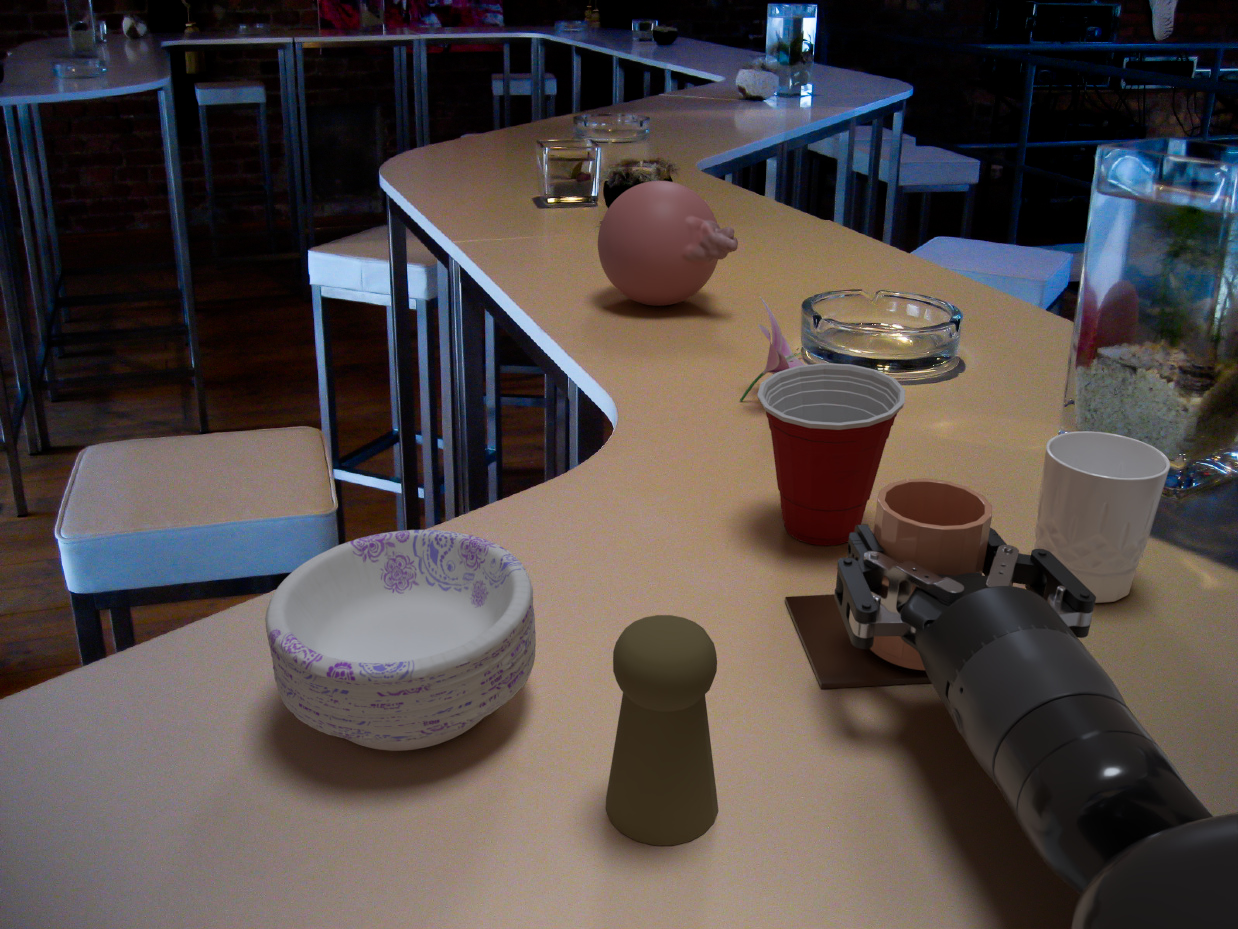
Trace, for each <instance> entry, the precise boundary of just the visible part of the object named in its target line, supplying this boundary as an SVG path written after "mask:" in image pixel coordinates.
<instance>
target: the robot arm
mask: <svg viewBox="0 0 1238 929" xmlns="http://www.w3.org/2000/svg"><path fill="white" fill-rule="evenodd" d="M846 551H847V552H846V557H840V558H838V560H837V562H836V564H837V565H836V570H837V571H836V582H835V588H834V593H833V594H834V598H835V600H836V603H837V606H838V608H839V611H840V614H841V616H842V619H843V622H844V624H845V627H846V630H847V632H848V635H849V637H850V640H851V643H852V644H853V646H855V647H857V648H860V649H869V648H871V647H872V646H873V642H874V636H900V637H901V639H902V640H903V641H904V642H905V643H907V644H908V645H910V646H911V647H913V648H914V649H916V650H917V651H918V652H919V655H920V657H921V660H922V663H923V666H924V668H925V671H926V673H927V675H928V677H929V679H930V681H931V683H930V684H931V685H932V687H933V688H934V690H935V692H936V693H937V695H938V697H939V698H940V700H941V702H942V703H943V705H944V707H945V709H946V711H947V712H948V714H949V716H950V718H951V720H952V721H953V724H954V726H955V729H956V730H957V732H958V733H959V734H960V735H961V737H962V738H963V741H964V742H965V744H966V746H967V747H968V749H969V751H970V753H971V754H972V755H973V757H974V759H975V760H976V762H977V763H978V765H979V766H980V767H981V769H982V770H983V771H984V772H985V773H986V775H987V776H988V778H990V779H991V781H992V782H993V783H994V784H995V785H996V787H997V789H998V790H999V791H1000V793H1001V795H1002V797H1003V799H1004V801H1005V802H1006V804H1007V805H1008V807H1009V809H1010V811H1011V813H1012V814H1013V816H1014V817H1015V820H1016V821H1017V823H1018V824H1019V826H1020V828H1021V830H1022V832H1023V833H1024V835H1025V837H1026V838H1027V840H1028V841H1029V843H1030V845H1031V846H1032V848H1033V849H1034V851H1036V853H1037V854H1038V856H1039V857H1040V858H1041V859H1042V861H1043V862H1044V863H1045V864H1046V865H1047V867H1048V868H1049V869H1050V870H1051V871H1052V872H1053V873H1054V874H1055V875H1056V876H1057V877H1059V878H1060V879H1061V880H1062V881H1063V882H1064V883H1066V885H1068V886H1069V887H1070V888H1071V889H1073V891H1075V892H1076V893H1077V894H1078V895H1079V897H1078V900H1077V902H1076V904H1075V907H1074V911H1073V914H1072V921H1071V927H1070V929H1238V811H1237V812H1231V813H1226V814H1220V815H1216V816H1214V815H1213V814H1212V813H1211V812H1210V811H1209V810H1208V809H1207V807H1206V806H1205V804H1204V803H1202V801H1201V800H1200V799H1199V798H1198V796H1197V795H1196V794H1195V793H1194V791H1192V789H1191V788H1190V786H1189V785H1188V784H1187V783H1186V781H1185V780H1184V778H1183V777H1182V776H1181V774H1180V772H1179V771H1178V769H1177V768H1176V766H1175V765H1174V763H1173V762H1172V761H1171V759H1170V758H1169V757H1168V755H1167V754H1166V753H1165V751H1164V749H1163V750H1162V748H1161V747H1160V745H1159V744H1158V743H1157V742H1156V740H1155V739H1154V738H1153V737H1152V736H1151V735H1150V733H1149V732H1148V731H1147V730H1146V728H1145V727H1144V726H1143V724H1142V723H1141V722H1140V721H1139V720H1138V718H1137V717H1136V716H1135V715H1134V714H1133V712H1132V711H1131V709H1130V708H1129V706H1128V705H1127V703H1126V701H1125V700H1124V698H1123V696H1122V694H1121V692H1120V690H1119V688H1118V687H1117V685H1116V684H1115V682H1114V681H1113V680H1112V678H1111V677H1110V675H1109V674H1108V673H1107V672H1106V670H1105V669H1104V668H1103V667H1102V665H1101V664H1100V663H1099V662H1098V661H1097V659H1096V658H1095V657H1094V655H1093V654H1092V653H1091V652H1090V651H1089V650H1088V648H1087V647H1086V646H1085V645H1084V644H1083V643H1082V641H1081V640H1080V639H1085V638H1087V637H1088V636H1089V634H1090V628H1091V624H1092V619H1093V614H1094V610H1095V606H1096V603H1095V601H1096V596H1095V595H1094V594H1093V593H1092V592H1091V591H1090V590H1089V589H1088V588H1087V587H1086V586H1085V585H1084V584H1083V583H1082V582H1081V581H1080V580H1079V579H1078V578H1077V577H1076V576H1074V575H1073V574H1072V573H1071V572H1070V571H1069V570H1068V569H1067V568H1066V567H1065V566H1064V565H1063V564H1062V563H1061V562H1060V561H1059V560H1058V559H1057V558H1056V557H1055V556H1054V555H1053V554H1052V553H1051V552H1049V551H1047V550H1044V549H1032V550H1031V552H1030V554H1026V553H1020V550H1019V548H1018V547H1017V546H1014V545H1011V544H1007V543H1006V542H1005V540H1004V539H1003V538H1002V537H1001V535H999V533H998V532H997V530H996V529H994V528H993V527H990V531H989V537H988V543H987V550H986V556H985V562H984V568H983V574H982V575H981V573H980V572H978V573H965V574H960V575H943V574H937V575H936V574H934V573H932V572H930V571H928V570H927V569H925V568H923V567H921V566H919V565H917V564H915V563H913V562H912V561H905V562H903V563H899V562H897V561H895V560H893V559H891V558H890V557H888V556H886V555H884V550H883V548H882V547H881V545H880V544H879V542H878V541H877V539H876V537H875V536H874V531H872V529H871V527H870V526H869V524H861V525H856V526H855V531H854V532H852V533H850V534H849V541H848V542H847V550H846ZM883 575H885V576H886V577H887V578H888V580H889V587H888V586H886V585H884V584H882V581H883ZM912 584H914V585H915V586H917V587H916V588H915V590H914V591H913V593H912V594H911V589H912ZM1014 584H1018V585H1024V588H1023V587H1019V586H1014Z"/></svg>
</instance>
